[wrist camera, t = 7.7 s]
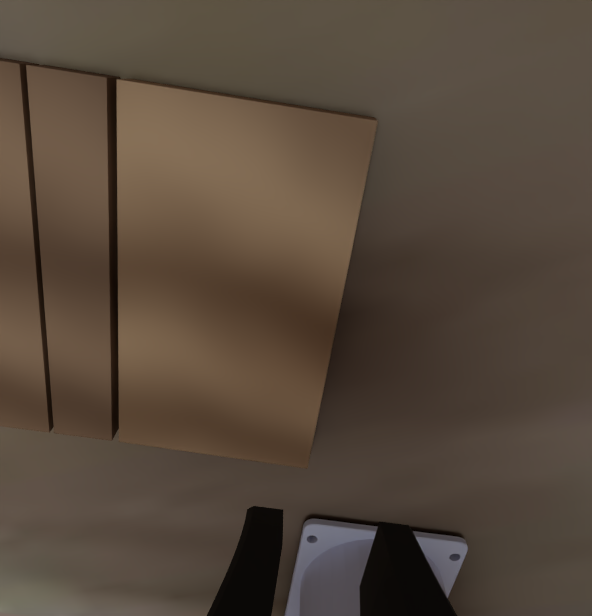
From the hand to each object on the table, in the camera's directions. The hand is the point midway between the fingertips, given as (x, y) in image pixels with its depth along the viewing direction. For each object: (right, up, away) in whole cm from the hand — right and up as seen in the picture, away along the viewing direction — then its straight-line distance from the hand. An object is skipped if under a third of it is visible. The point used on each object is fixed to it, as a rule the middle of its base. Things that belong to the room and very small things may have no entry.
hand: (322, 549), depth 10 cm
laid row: (-10, +7, +9) cm, 15 cm away
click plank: (-3, +6, +9) cm, 11 cm away
